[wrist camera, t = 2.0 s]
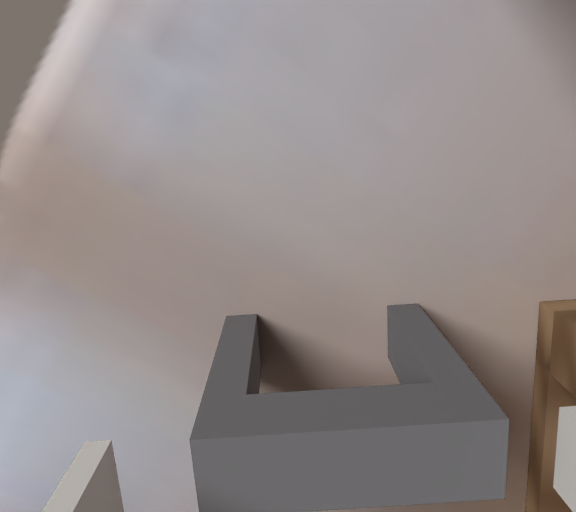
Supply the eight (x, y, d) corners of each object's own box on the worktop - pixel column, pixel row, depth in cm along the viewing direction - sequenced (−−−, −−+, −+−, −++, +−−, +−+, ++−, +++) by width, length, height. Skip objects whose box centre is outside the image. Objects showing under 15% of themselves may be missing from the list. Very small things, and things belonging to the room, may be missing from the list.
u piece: (418, 303, 22) (509, 419, 13) (417, 355, 23) (505, 498, 14) (226, 316, 22) (189, 439, 13) (231, 367, 23) (200, 518, 14)
